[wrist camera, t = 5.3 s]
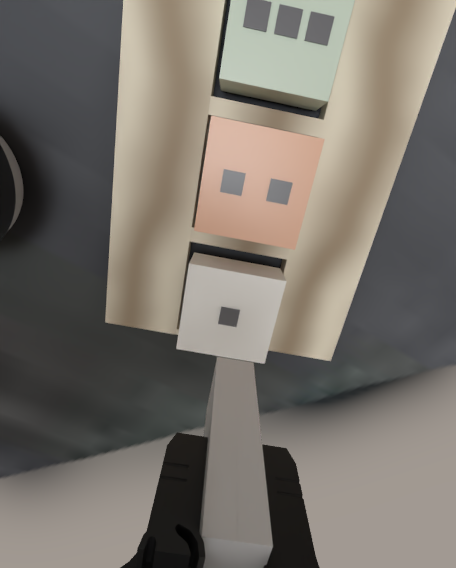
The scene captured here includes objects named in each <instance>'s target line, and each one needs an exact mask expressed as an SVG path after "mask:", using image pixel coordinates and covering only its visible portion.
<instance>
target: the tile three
mask: <svg viewBox="0 0 456 568" xmlns="http://www.w3.org/2000/svg"><path fill="white" fill-rule="evenodd" d="M354 2H355V0H231V3H230V10H229V16H228V23H227V30H226V36H225V43H224V49H223V56H222V62H221V69H220V76H219V81H220V88H221V91H225V92H230V93H234V94H239V95H244V96H248V97H253V98H258V99H263V100H267V101H272V102H277V103H281V104H286V105H291V106H295V107H300V108H305V109H310V110H314V111H316V110H318V109H319V108H320V107H322V106H323V105H324V104H326V103H327V102H328V101H329V97H330V93H331V89H332V86H333V82H334V78H335V74H336V70H337V67H338V63H339V59H340V55H341V51H342V48H343V44H344V40H345V36H346V32H347V28H348V25H349V21H350V17H351V13H352V9H353V6H354Z"/></svg>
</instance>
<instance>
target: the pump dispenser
mask: <svg viewBox="0 0 456 568" xmlns="http://www.w3.org/2000/svg"><path fill="white" fill-rule="evenodd" d="M22 202H23V181H22V176H21V172H20V169H19V166H18V163H17V161H16V159H15V157H14V155H13V153H12V151H11V149H10V148H9V146H8V145H7V143H6V142H5V141H4V139H3V138H2V137H1V136H0V241H1V240H2V239H3V237H4V236H5V234H6V233H7V232H8V230H9V229H10V228H11V227H12V225H13V224H14V223H15V221H16V219H17V217H18V215H19V213H20V210H21V206H22Z"/></svg>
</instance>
